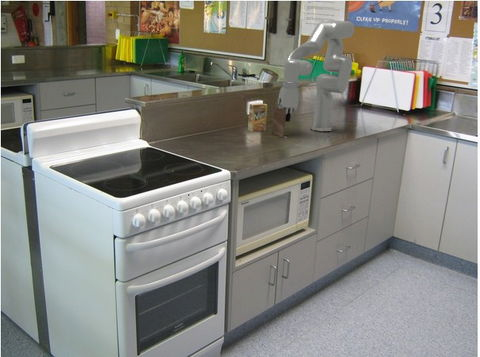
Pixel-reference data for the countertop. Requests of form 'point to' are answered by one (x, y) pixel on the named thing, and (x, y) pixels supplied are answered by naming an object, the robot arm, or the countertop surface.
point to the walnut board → (279, 122)
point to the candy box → (257, 117)
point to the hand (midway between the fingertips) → (286, 121)
